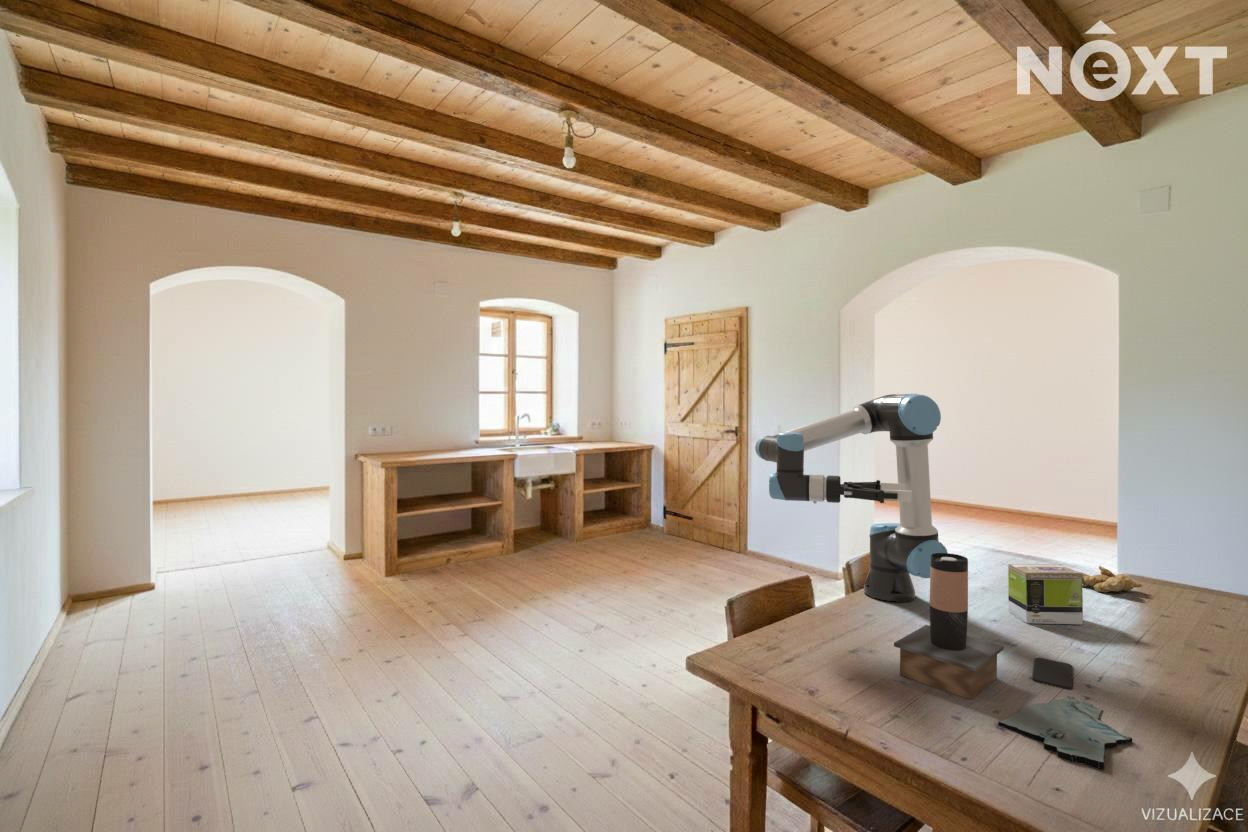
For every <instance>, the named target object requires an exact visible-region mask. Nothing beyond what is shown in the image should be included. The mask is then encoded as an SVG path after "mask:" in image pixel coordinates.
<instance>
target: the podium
mask: <svg viewBox="0 0 1248 832" xmlns="http://www.w3.org/2000/svg"><path fill="white" fill-rule="evenodd" d="M893 647H894V648H898V649H900V650H899V653H900V654H899V676H901V675H903V676H902V677H904V676H906V677H905V678H907V677H909V678H908V679H910V678H912V679H911V680H913V679H914V680H913V681H916V680H917V681H916V682H918V683H921V682H923V683H922V684H924V683H926V684H925V685H927V684H928V686H931V687H934V688H936V689H939V690H942V691H944V692H948V693H951V694H953V695H956V696H959V697H963V698H965V699H969V700H973V699H974V698H975V697H976V696H978V695H979V694H980V693H981V692H982V691H983V690H985V689H987V687H988V686H989V685H990V684H992V682H994V681H996V680H997V678H998V655H999V654H1000V653H1001V652H1002V651H1003V650H1004V649H1005V646H1004V645H1002V644H997V643H994V642H991V641H987V640H983V639H980V638H977V637H976V638H975V637H973V636H969V635H967V639H966V648H965V649H964V650H959V651H954V650H946V649H942V648H939V647H937V646H935V645H933V644H932V643H931V637H930V625H928V624H925V625H923V626H921V627H920V628H918V629H916V630H914V631H912V632H911V633H909V634H907V635H905V636H904V637H902V638H900V639H898V640H897V641H895V642H893Z"/></svg>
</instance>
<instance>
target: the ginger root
mask: <svg viewBox="0 0 1248 832" xmlns="http://www.w3.org/2000/svg"><path fill="white" fill-rule="evenodd" d="M1098 569H1099V570H1100V573H1099V574H1094V575H1089V574H1087V573H1084V572H1080V571H1078V572H1079V573H1082V586H1088V587H1091V588H1092V587H1093V589H1094V590H1095V591H1096V592H1098V593H1102V592H1104V594H1105V593H1109V592H1120V591H1123V592H1128V591H1131V590H1133V589H1134V588H1142V587H1143V584H1142V583H1138V582H1137V581H1134V580H1133V579H1132V578H1131V577H1130V576H1128V575H1126V574H1124V573H1118V574H1115V573H1113V572H1112V571H1111V570H1109V569H1107V568H1105V567H1104V566H1103V567H1102V566H1101V565H1099V566H1098Z"/></svg>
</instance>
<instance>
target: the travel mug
mask: <svg viewBox="0 0 1248 832" xmlns="http://www.w3.org/2000/svg"><path fill="white" fill-rule="evenodd" d="M929 579H930V580H929V581H930V582H929V623H930V625H929V626H930V637H931V643H932V644H933V645H935V646H937V647H939V648H942V649H946V650H954V651H959V650H964V649H965V648H966V639H967V636H968V634H967V633H968V618H969V617H968V616H969V612H968V611H969V559H968V558H967V557H966V556H964V555H960V554H955V553H934V554H932V555H931V566H930V578H929Z"/></svg>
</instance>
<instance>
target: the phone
mask: <svg viewBox="0 0 1248 832" xmlns="http://www.w3.org/2000/svg"><path fill="white" fill-rule="evenodd" d="M1033 663H1034V664H1033V671H1032V678H1031V679H1032V681H1033V682H1035V683H1038V682H1039V684H1042V683H1044V684H1043V685H1046V684H1048V685H1047V686H1051V685H1052V686H1051V687H1055V686H1056V688H1059V687H1060V689H1065V690H1073V688H1074V678H1073V677H1074V676H1073V667H1074V666H1073V665H1072V664H1071V663H1069V662H1068V663H1067V662H1063V661H1062V662H1061V661H1058V660H1053V659H1049V658H1048V659H1047V658H1044V657H1035V658H1034V662H1033Z"/></svg>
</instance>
